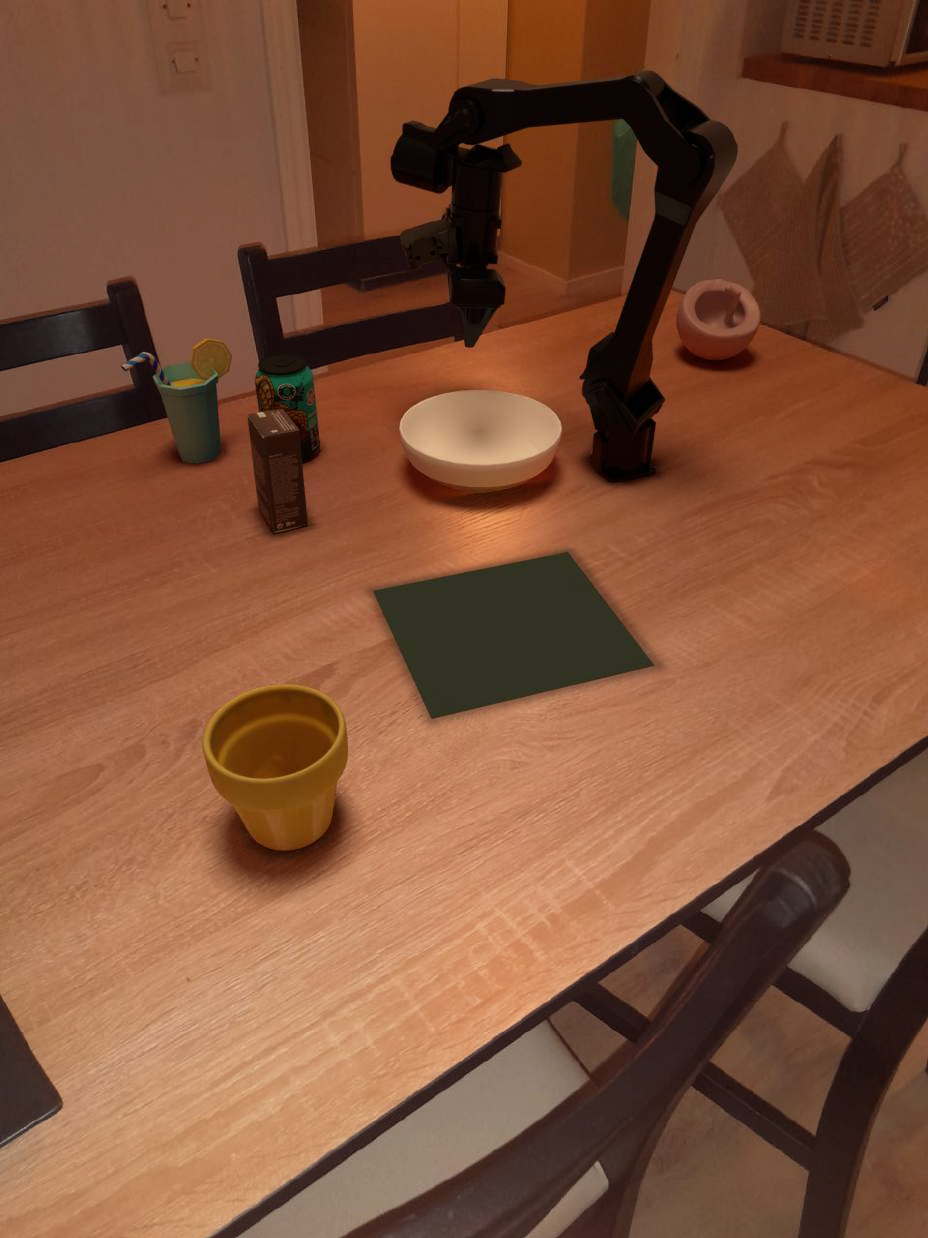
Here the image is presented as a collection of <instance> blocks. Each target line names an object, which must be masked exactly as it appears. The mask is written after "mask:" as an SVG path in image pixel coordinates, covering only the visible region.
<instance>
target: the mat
mask: <svg viewBox="0 0 928 1238" xmlns="http://www.w3.org/2000/svg"><path fill="white" fill-rule="evenodd" d="M372 593H373V594H374V596H375V598H376V601H377V603H378V605H379V608H380V610H381V612H382V614H383V616H384V618H385V621H386V623H387V625H388V627H389V630H390V631H391V634H392V636H393V639H394V640H395V642H396V645H397V647H398V649H399V652H400V654H401V656H402V658H403V660H404V662H405V664H406V666H407V669H408V671H409V673H410V675H411V677H412V680H413V682H414V684H415V686H416V689H417V691H418V693H419V695H420V697H421V700H422V702H423V704H424V706H425V708H426V710H427V713H428V715H429V717H430V719H431V720H434V719H439V718H442V717H447V716H450V715H454V714H458V713H463V712H467V711H471V710H475V709H479V708H483V707H488V706H491V705H497V704H501V703H505V702H508V701H513V700H517V699H522V698H526V697H530V696H534V695H537V694H542V693H547V692H550V691H554V690H559V689H564V688H567V687H572V686H575V685H576V686H577V685H580V684H584V683H587V682H592V681H597V680H600V679H605V678H609V677H614V676H617V675H621V674H626V673H630V672H635V671H638V670H642V669H647V668H650V667H651V668H652V667H655V664H654V662H653V661H652V660H651V658H649V656H648V654H647V653H646V652H645V650H643V648H642V647H641V646H640V644H639V643H638V641H637V640H636V639H635V638H634V636H633V635H632V634H631V633H630V631H629V630H628V629H627V627H626V626H625V625H624V623H623V622H622V620H621V619H620V618H619V616H618V615H617V613H615V611H614V610H613V609H612V607H610V605H609V603H608V602H607V601H606V600H605V598H604V597H603V596H602V594H601V592H599V590H598V589H597V588H596V586H595V585H594V583H592V581H591V580H590V579H589V578H588V576H587V575H586V573H585V572H584V570H583V569H582V568H581V567H580V566H579V564H578V563H577V562H576V560H575V559H574V557H573V556H572V555H571V554H570V552H569V551H564V552H559V553H554V554H549V555H544V556H539V557H534V558H529V559H524V560H519V561H515V562H510V563H503V564H499V565H494V566H488V567H484V568H480V569H479V568H478V569H474V570H469V571H464V572H459V573H454V574H450V575H443V576H439V577H434V578H429V579H424V580H419V581H414V582H409V583H405V584H399V585H394V586H389V587H383V588H379V589H374V590H372Z"/></svg>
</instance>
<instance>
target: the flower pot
mask: <svg viewBox="0 0 928 1238" xmlns="http://www.w3.org/2000/svg"><path fill="white" fill-rule="evenodd" d="M347 729H348V728H347V723H346V718H345V715H344V712H343V711H342V709H341V707H340V706H339V704H338V703H337V702H336V701H335V700H334V699H333V698H331V697H330V696H329V695H328V694H326V693H324V692H323V691H320V690H319V689H316V688H314V687H309V686H306V685H300V684H295V683H294V684H292V683H279V684H269V685H265V686H260V687H256V688H254V689H250V690H248V691H245V692H242V693H241V694H239V695H237V696H235V697H232V698H231V699H230V700H228V701H227V702H225V703H224V704H223V705H222V706H220V708H218V709H217V710H216V712H215V713H214V714H213V715H212V716H211V718H210V719H209V721H208V722H207V725H206V726H205V729H204V732H203V736H202V752H203V757H204V760H205V764H206V768H207V772H208V775H209V778H210V780H211V783H212V785H213V787H214V789H215V790H216V792H217V793H218V795H220V796H221V798H223V799H224V800H225V801H226V802H228V803H230V804H231V805H232V806H233V808H234V810H235V812H236V813H237V815H238V816H239V818H240V819H241V822H242V824H243V825H244V826H245V829H246V830H247V832H248V833H249V835H250V837H252V839H253V840H254V841H255V842H256V843H258V844H259V845H261V846H263V847H265V848H267V849H271V850H274V851H279V852H280V851H281V852H283V851H284V852H285V851H286V852H287V851H294V850H299V849H302V848H305V847H307V846H309V845H312V844H313V843H315V842H316V841H317V840H319V839H320V838H321V837H322V836H323V835H325V834H326V832H327V830H328V829H329V826H330V825H331V823H332V819H333V812H334V806H335V800H336V793H337V788H338V782H339V780H340V779H341V778H342V776H343V773H344V772H345V770H346V766H347V765H348V764H347V763H348V759H349V740H348V739H349V738H348V730H347Z"/></svg>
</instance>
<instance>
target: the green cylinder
mask: <svg viewBox="0 0 928 1238" xmlns="http://www.w3.org/2000/svg"><path fill="white" fill-rule="evenodd" d="M257 367H258V369H257V371H256V374H255V376H254V386H255V393H256V400H257V407H258V413H259V412H265V411H271V410H278V409H283V410H284V411H285V412H286V414H287V415H288V416H289V417H290V419H291V420H292V421H293V422H294V424H295V425H296V426H297V428H298V429H299V433H300V445H301V456H302V462H305V461H307V460H309V459H311V458H313V457H314V456H315V455H316V454H317V452H318V451H319V450H320V447H321V439H320V429H319V420H318V410H317V400H316V399H317V398H316V390H315V380H314V374H313V372H312V370H311V368H309V366H308V365H307V360H306V358H305V357H304V356H302V355H299V354H296V353H289V352H284V353H283V352H282V353H281V352H280V353H273V354H270V355H267V356H264V357H263V358H261V359H260V360H258V363H257Z"/></svg>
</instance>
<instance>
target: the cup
mask: <svg viewBox="0 0 928 1238" xmlns="http://www.w3.org/2000/svg"><path fill="white" fill-rule="evenodd" d="M232 359H233V354H232V353H231V351H230V349H229V348H228V346H227V345H226V343H225V342H224V341H223V340H219V339H215V338H214V339H213V338H208V337H206V338H204V339H203V340H201V341H200V342H199V343H197V344H195V345H194V346H193V347H192V350H191V355H190V361H187V362H181V363H175V364H170V365H166V366H165V367H163V368H162V367H161V364H160V363H159V362H158V360H157V358H156V357H155V355H153V354H151V353H149V352H145V351H142V352H141V353H139V354H138V355H136V356H134V357H133V358H131V359H129V360H128V361H126V362H124V363H123V364H121V365H120V368H121V369H122V371H124V372H127V371H129V370H130V369H133V368H134V367H136V366H138V365H139V364H141V363H143V362H145V361H149V363H150V366H151V367H152V368H153V370H154V371H155V374H154V375H153V376H152V378H153V381H154V384H155V387H156V388H157V390H158V391H159V394H160V397H161V400H162V403H163V407H164V409H165V413H166V417H167V420H168V423H169V426H170V429H171V433H172V437H173V439H174V442H175V445H176V449H177V453H178V456H179V457H180V458H181V460H182V462H185V463H191V464H197V465H198V464H203V463H207V462H211V461H214V460H215V459H217V458H218V457H219V456H220V455H221V454H222V442H221V440H222V439H221V428H220V415H219V413H220V412H219V399H218V387H217V386H218V385H217V384H218V383H219V379H221V378H222V377H223V376H225V375H226V374H228V373H229V372H230V369H231V364H232Z"/></svg>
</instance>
